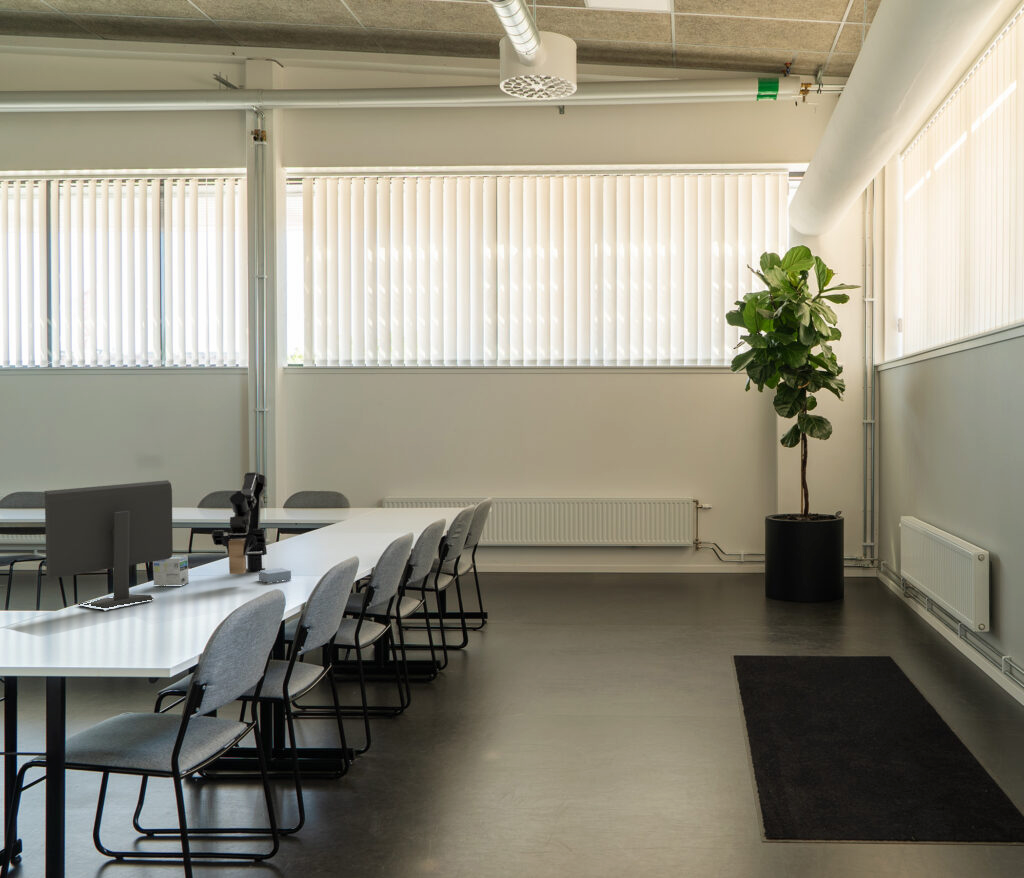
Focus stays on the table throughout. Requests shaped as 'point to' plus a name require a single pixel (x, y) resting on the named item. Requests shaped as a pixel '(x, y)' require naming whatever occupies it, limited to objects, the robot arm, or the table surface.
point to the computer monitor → (108, 532)
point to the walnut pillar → (237, 556)
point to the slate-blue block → (274, 575)
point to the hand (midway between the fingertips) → (236, 555)
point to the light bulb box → (171, 571)
